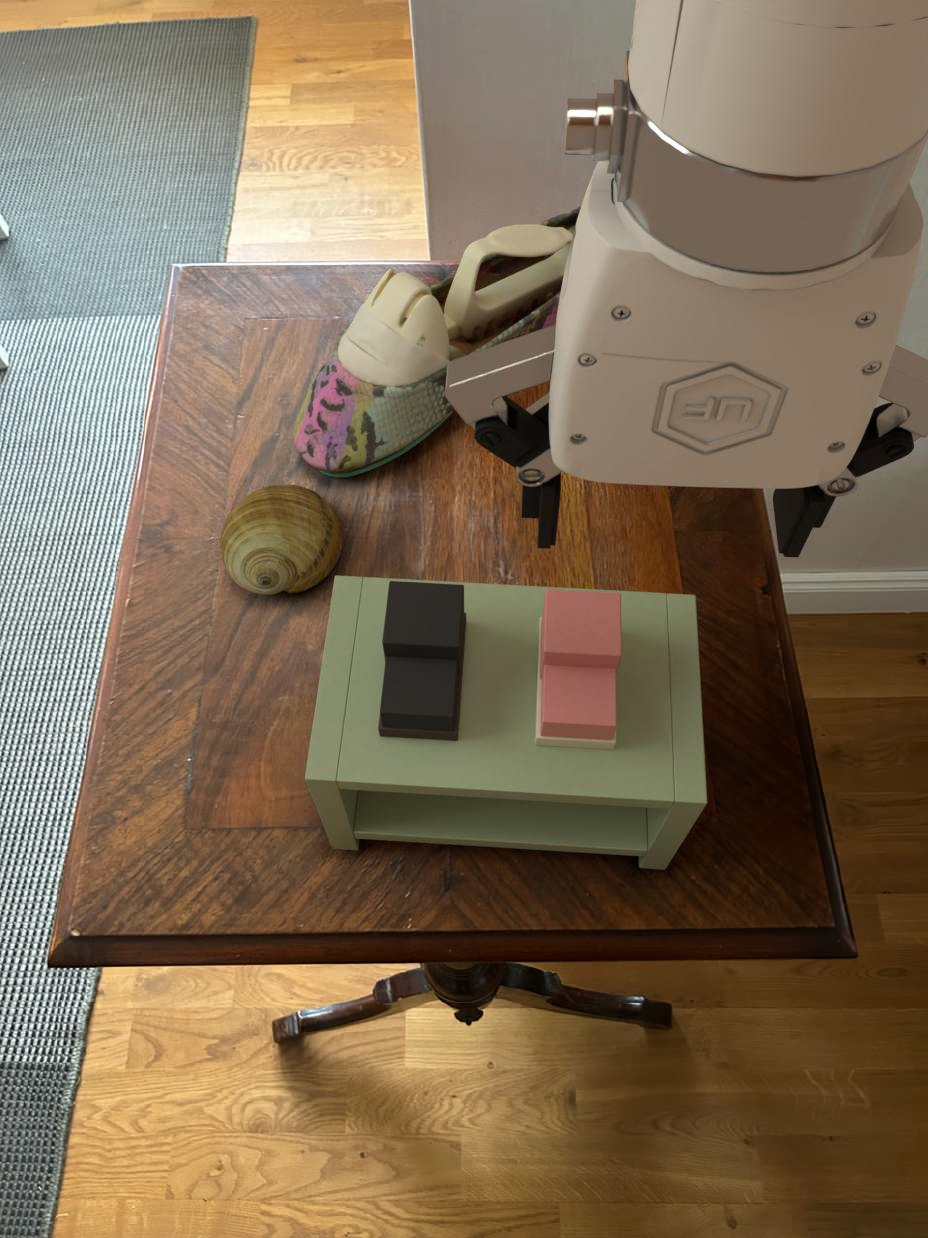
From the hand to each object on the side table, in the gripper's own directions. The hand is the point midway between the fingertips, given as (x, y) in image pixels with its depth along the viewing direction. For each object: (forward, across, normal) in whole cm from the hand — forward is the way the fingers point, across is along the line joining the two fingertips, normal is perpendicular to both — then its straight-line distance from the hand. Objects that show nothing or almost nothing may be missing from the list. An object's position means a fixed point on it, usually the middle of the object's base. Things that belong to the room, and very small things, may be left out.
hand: (664, 523), depth 41 cm
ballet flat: (+26, -11, +32) cm, 42 cm away
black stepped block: (+14, -11, -1) cm, 17 cm away
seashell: (+26, -22, +14) cm, 37 cm away
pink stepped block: (+14, -3, -1) cm, 14 cm away
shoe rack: (+26, -6, -1) cm, 26 cm away
